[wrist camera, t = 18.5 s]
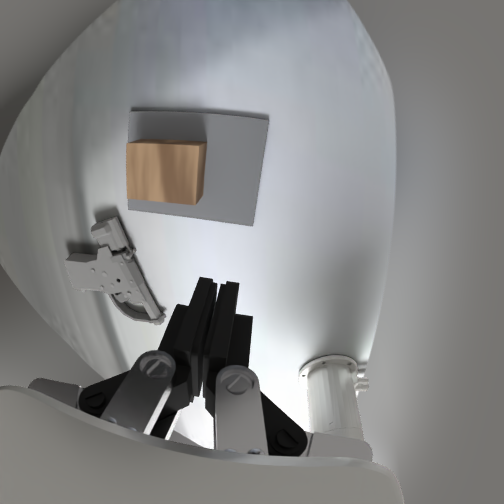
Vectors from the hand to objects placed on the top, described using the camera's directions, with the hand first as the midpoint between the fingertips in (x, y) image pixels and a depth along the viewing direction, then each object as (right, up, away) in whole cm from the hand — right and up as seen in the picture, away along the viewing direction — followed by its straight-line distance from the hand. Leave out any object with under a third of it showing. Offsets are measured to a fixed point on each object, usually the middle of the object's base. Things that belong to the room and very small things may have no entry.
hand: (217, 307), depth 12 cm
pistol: (-23, -2, +32) cm, 40 cm away
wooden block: (-4, +12, +20) cm, 23 cm away
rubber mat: (-6, +13, +22) cm, 26 cm away
